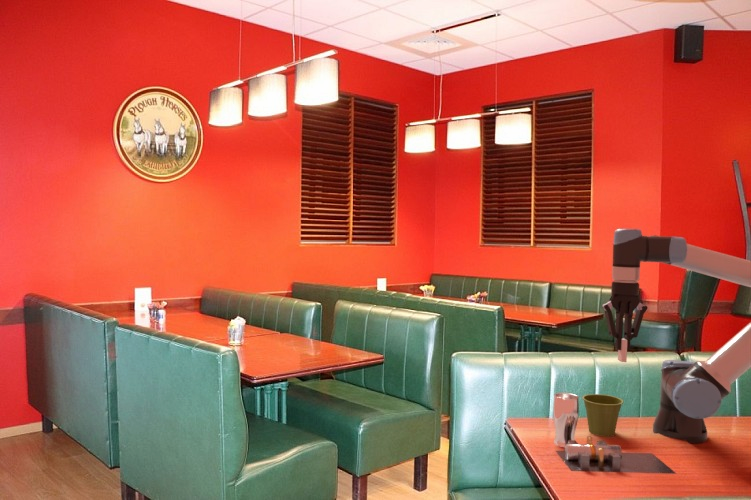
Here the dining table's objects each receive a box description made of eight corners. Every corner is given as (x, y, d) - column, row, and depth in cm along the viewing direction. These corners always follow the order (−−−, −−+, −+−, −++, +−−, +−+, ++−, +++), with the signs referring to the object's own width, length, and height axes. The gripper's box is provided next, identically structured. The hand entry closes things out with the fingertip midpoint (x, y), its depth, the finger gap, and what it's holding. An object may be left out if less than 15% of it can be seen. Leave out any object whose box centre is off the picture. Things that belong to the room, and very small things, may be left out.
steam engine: (652, 456, 172) (652, 435, 172) (676, 477, 158) (677, 454, 158) (555, 454, 172) (556, 433, 172) (571, 474, 158) (571, 451, 158)
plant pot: (612, 429, 195) (613, 393, 195) (628, 442, 183) (630, 405, 183) (575, 428, 195) (576, 393, 194) (589, 441, 183) (590, 404, 182)
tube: (617, 461, 167) (615, 446, 169) (622, 459, 163) (620, 444, 165) (565, 460, 167) (563, 445, 169) (570, 458, 163) (568, 442, 165)
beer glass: (578, 452, 174) (580, 400, 173) (552, 450, 175) (555, 398, 174) (575, 444, 180) (577, 393, 180) (551, 442, 182) (553, 391, 181)
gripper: (642, 280, 185) (638, 358, 186) (598, 279, 185) (595, 357, 186) (653, 283, 177) (649, 364, 178) (608, 281, 177) (604, 363, 178)
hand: (622, 360), depth 182 cm, fingers closed
